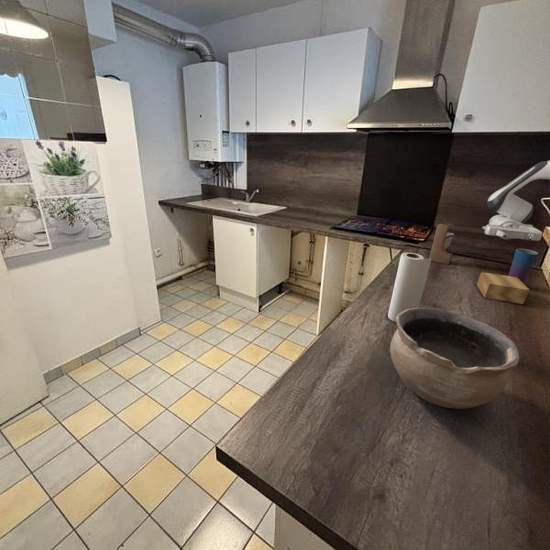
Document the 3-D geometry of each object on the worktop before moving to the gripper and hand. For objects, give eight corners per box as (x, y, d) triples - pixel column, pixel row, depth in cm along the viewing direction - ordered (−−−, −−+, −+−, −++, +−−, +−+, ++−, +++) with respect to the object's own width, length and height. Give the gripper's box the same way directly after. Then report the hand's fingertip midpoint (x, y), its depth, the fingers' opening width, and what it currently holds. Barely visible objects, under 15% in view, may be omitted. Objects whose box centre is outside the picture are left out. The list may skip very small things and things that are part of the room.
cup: (522, 285, 120) (536, 250, 114) (525, 291, 115) (540, 255, 109) (502, 281, 123) (515, 247, 117) (504, 286, 118) (517, 251, 112)
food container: (437, 248, 164) (442, 230, 160) (449, 251, 159) (454, 233, 155) (427, 252, 156) (432, 234, 152) (439, 255, 152) (444, 236, 148)
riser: (511, 291, 114) (517, 277, 112) (523, 304, 104) (529, 289, 102) (476, 285, 118) (481, 272, 116) (484, 298, 108) (489, 283, 105)
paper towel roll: (383, 317, 92) (397, 254, 84) (393, 311, 96) (407, 250, 88) (405, 327, 87) (422, 261, 79) (415, 321, 91) (431, 257, 83)
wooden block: (449, 262, 142) (460, 226, 135) (448, 265, 139) (459, 228, 132) (430, 258, 147) (439, 223, 140) (428, 260, 144) (437, 225, 137)
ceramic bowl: (371, 395, 63) (383, 337, 57) (395, 345, 79) (406, 296, 73) (495, 451, 52) (527, 387, 46) (492, 379, 68) (515, 325, 62)
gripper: (483, 219, 136) (491, 226, 124) (536, 225, 130) (550, 232, 118) (479, 232, 139) (486, 240, 127) (530, 238, 132) (543, 247, 121)
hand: (517, 236), depth 122 cm, fingers open, 8 cm apart
